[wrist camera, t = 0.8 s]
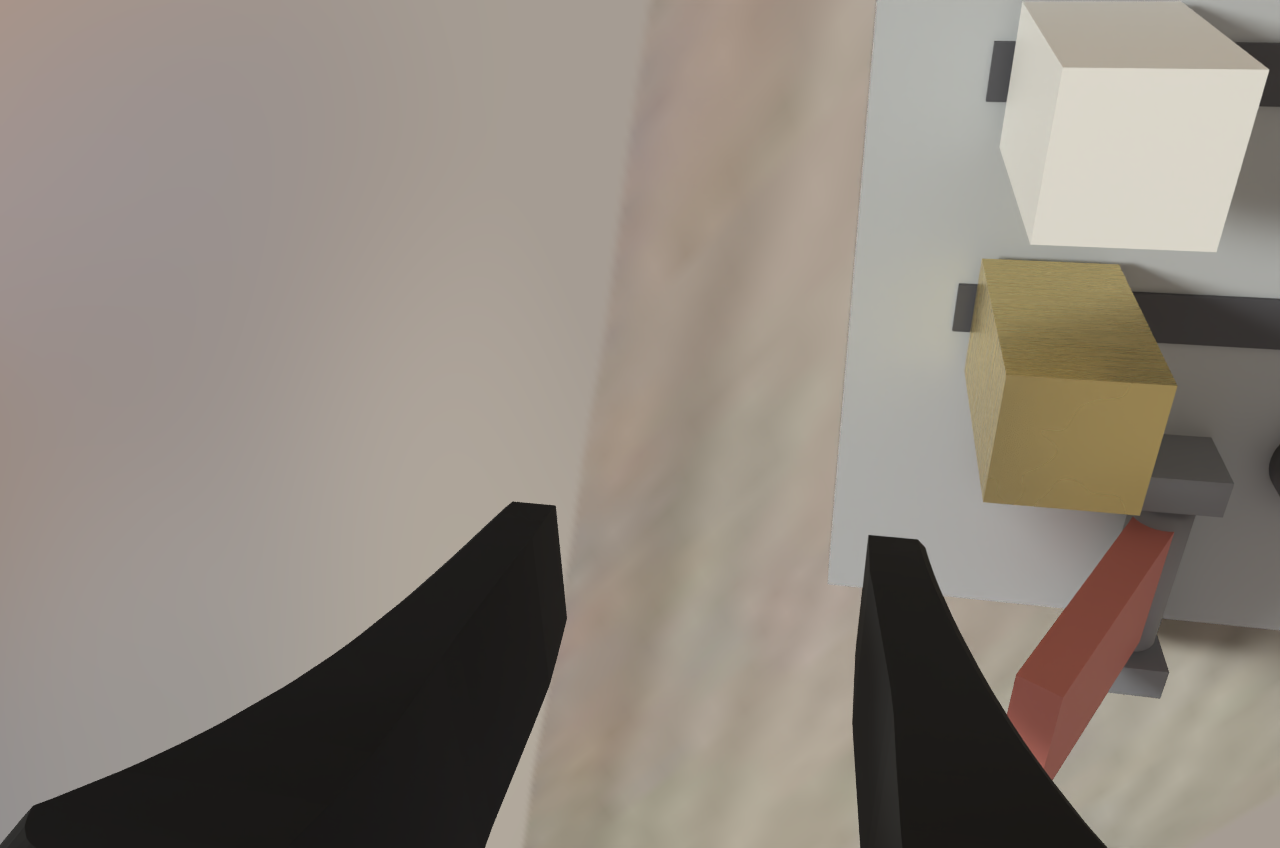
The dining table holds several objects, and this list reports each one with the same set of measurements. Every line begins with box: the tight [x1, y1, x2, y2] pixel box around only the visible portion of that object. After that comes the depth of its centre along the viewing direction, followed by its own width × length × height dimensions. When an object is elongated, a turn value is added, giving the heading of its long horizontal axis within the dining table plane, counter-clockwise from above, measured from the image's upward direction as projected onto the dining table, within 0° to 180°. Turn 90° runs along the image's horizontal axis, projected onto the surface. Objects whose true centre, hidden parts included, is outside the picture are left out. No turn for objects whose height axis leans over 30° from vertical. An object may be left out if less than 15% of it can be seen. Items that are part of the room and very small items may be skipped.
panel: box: [828, 0, 1280, 698], centre depth 20 cm, size 15×11×3 cm
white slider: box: [999, 1, 1269, 252], centre depth 15 cm, size 2×2×4 cm
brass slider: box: [964, 259, 1177, 516], centre depth 18 cm, size 2×2×4 cm
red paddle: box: [1007, 511, 1196, 780], centre depth 20 cm, size 4×1×7 cm, turn 2°
